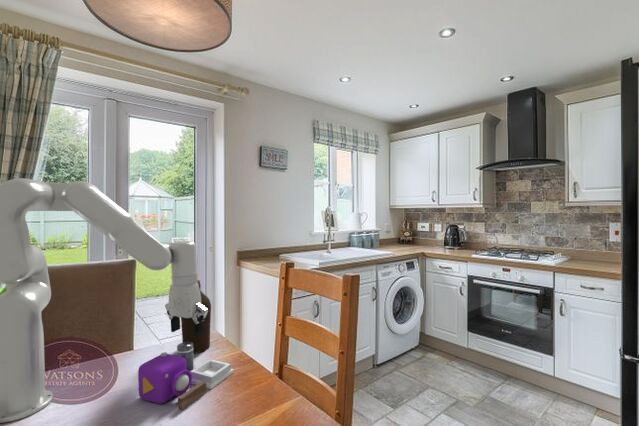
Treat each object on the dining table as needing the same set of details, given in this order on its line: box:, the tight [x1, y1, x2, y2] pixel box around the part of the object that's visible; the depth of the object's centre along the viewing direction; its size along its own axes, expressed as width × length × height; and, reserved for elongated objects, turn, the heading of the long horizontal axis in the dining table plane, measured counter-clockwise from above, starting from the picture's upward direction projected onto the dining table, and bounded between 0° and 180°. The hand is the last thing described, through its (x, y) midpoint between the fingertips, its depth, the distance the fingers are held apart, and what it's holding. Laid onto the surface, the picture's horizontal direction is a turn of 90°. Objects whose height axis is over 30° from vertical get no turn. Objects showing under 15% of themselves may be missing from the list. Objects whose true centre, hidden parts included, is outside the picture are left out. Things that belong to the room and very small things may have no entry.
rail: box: [177, 381, 207, 411], centre depth 86 cm, size 2×8×3 cm, turn 157°
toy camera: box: [137, 352, 192, 405], centre depth 89 cm, size 11×14×10 cm
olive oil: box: [180, 279, 212, 354], centre depth 118 cm, size 11×11×25 cm
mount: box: [190, 358, 234, 390], centre depth 98 cm, size 9×10×3 cm
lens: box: [176, 342, 195, 371], centre depth 103 cm, size 5×5×8 cm
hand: (186, 332), depth 103 cm, fingers open, 9 cm apart
